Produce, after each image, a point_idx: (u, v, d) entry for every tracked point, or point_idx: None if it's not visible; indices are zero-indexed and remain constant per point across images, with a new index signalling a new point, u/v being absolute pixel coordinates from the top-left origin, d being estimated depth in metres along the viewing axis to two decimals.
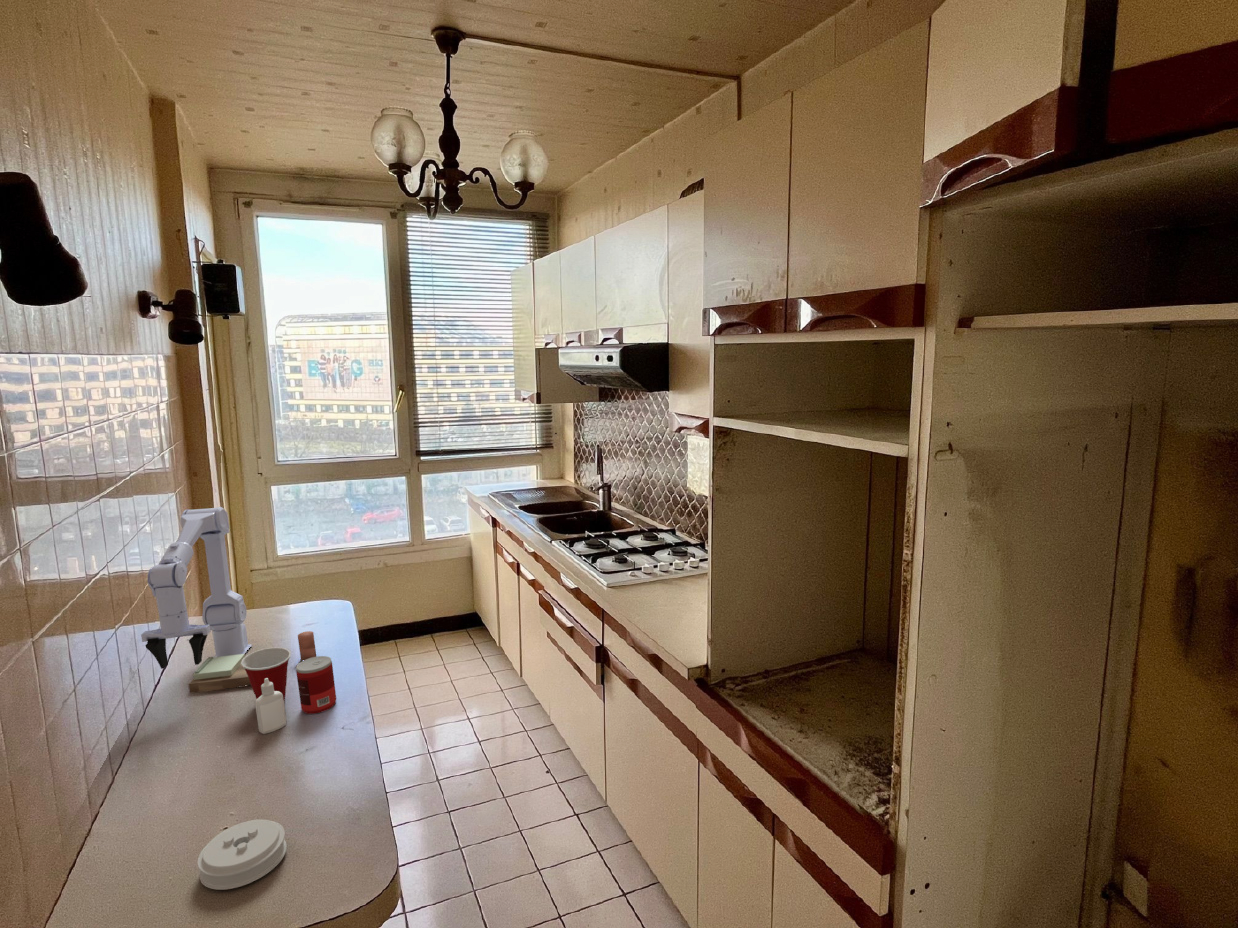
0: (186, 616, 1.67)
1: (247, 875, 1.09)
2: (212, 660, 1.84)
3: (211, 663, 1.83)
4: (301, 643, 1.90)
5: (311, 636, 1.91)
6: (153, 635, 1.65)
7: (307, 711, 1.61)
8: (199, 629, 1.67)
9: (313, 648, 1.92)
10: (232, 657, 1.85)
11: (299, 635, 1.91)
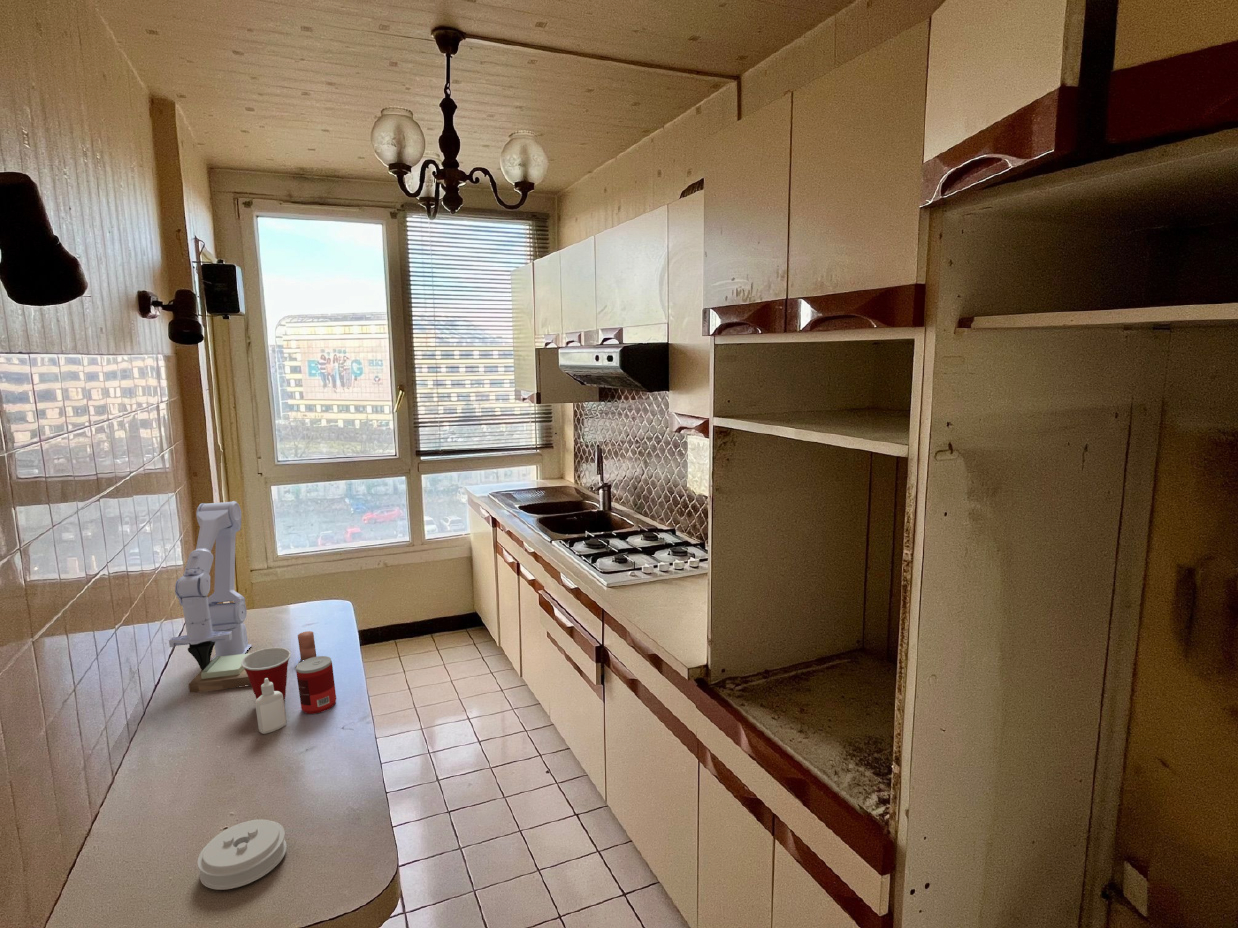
0: (210, 623, 1.80)
1: (247, 875, 1.09)
2: (219, 659, 1.85)
3: (218, 662, 1.83)
4: (301, 643, 1.90)
5: (311, 636, 1.91)
6: (180, 641, 1.78)
7: (307, 711, 1.61)
8: (222, 636, 1.80)
9: (313, 648, 1.92)
10: (239, 656, 1.86)
11: (299, 635, 1.91)
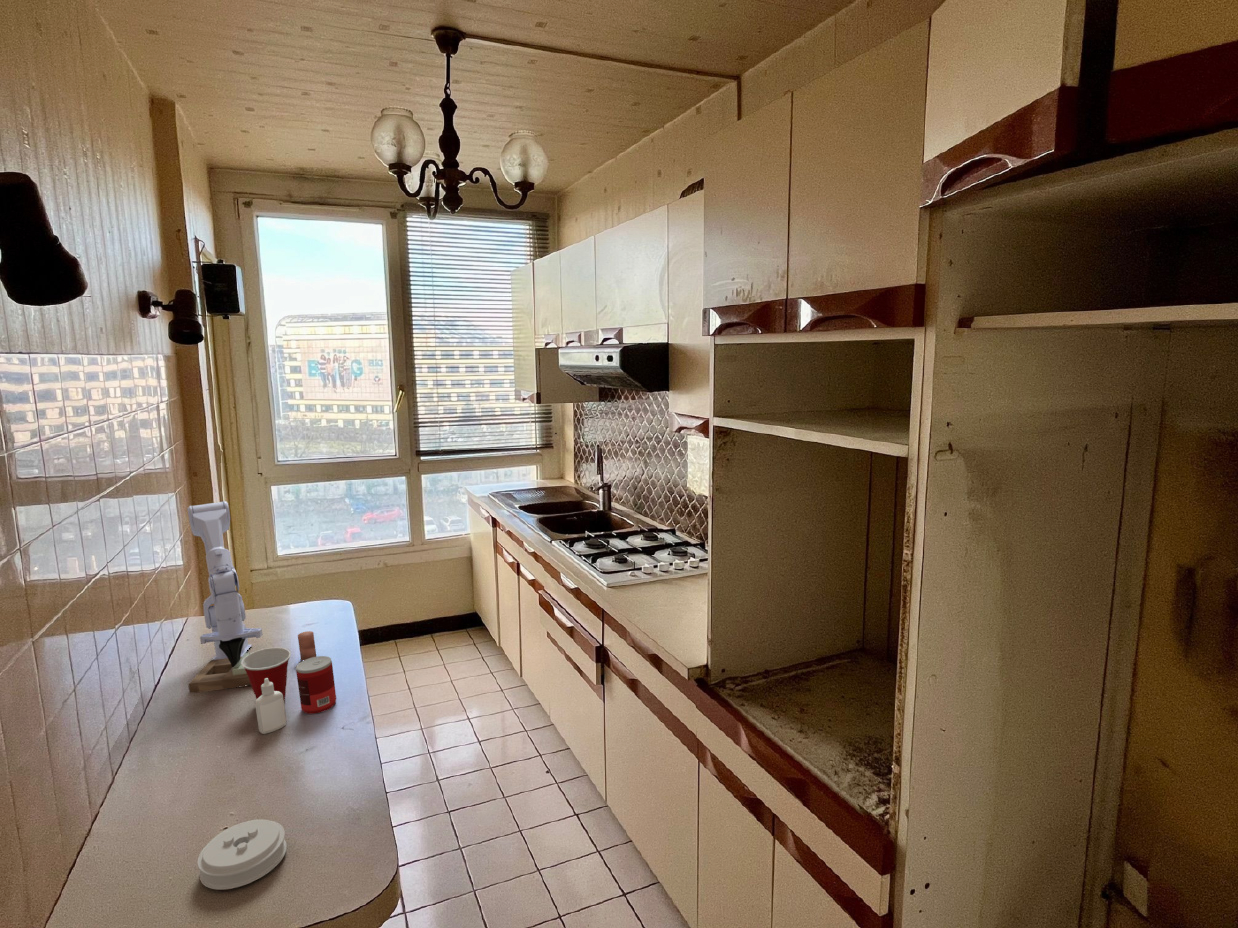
0: (241, 620, 1.81)
1: (247, 875, 1.09)
2: None
3: None
4: (301, 643, 1.90)
5: (311, 636, 1.91)
6: (211, 638, 1.79)
7: (307, 711, 1.61)
8: (252, 632, 1.81)
9: (313, 648, 1.92)
10: None
11: (299, 635, 1.91)
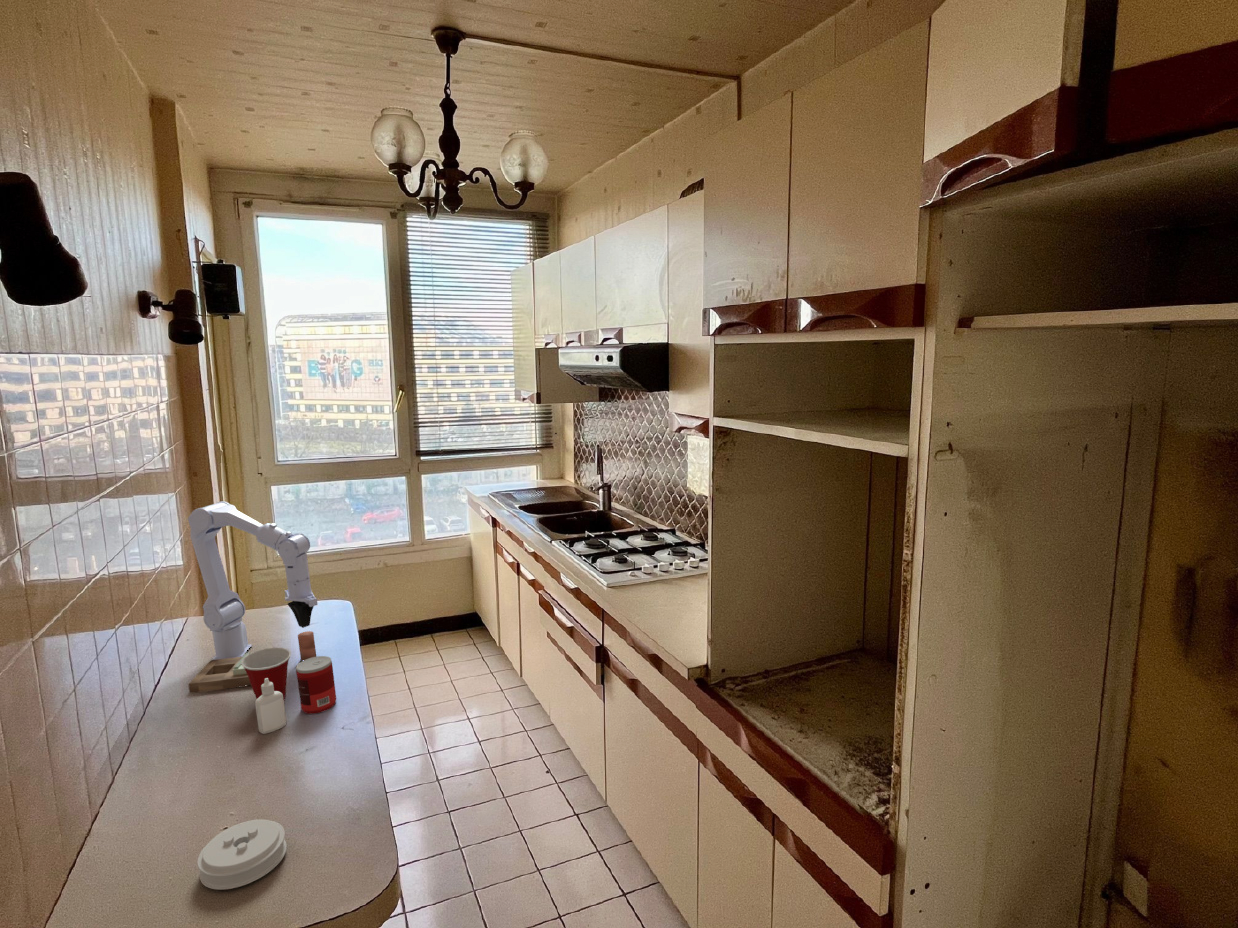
0: (303, 585, 1.88)
1: (247, 875, 1.09)
2: None
3: None
4: (301, 643, 1.90)
5: (311, 636, 1.91)
6: (287, 594, 1.91)
7: (307, 711, 1.61)
8: (306, 600, 1.85)
9: (313, 648, 1.92)
10: None
11: (299, 635, 1.91)
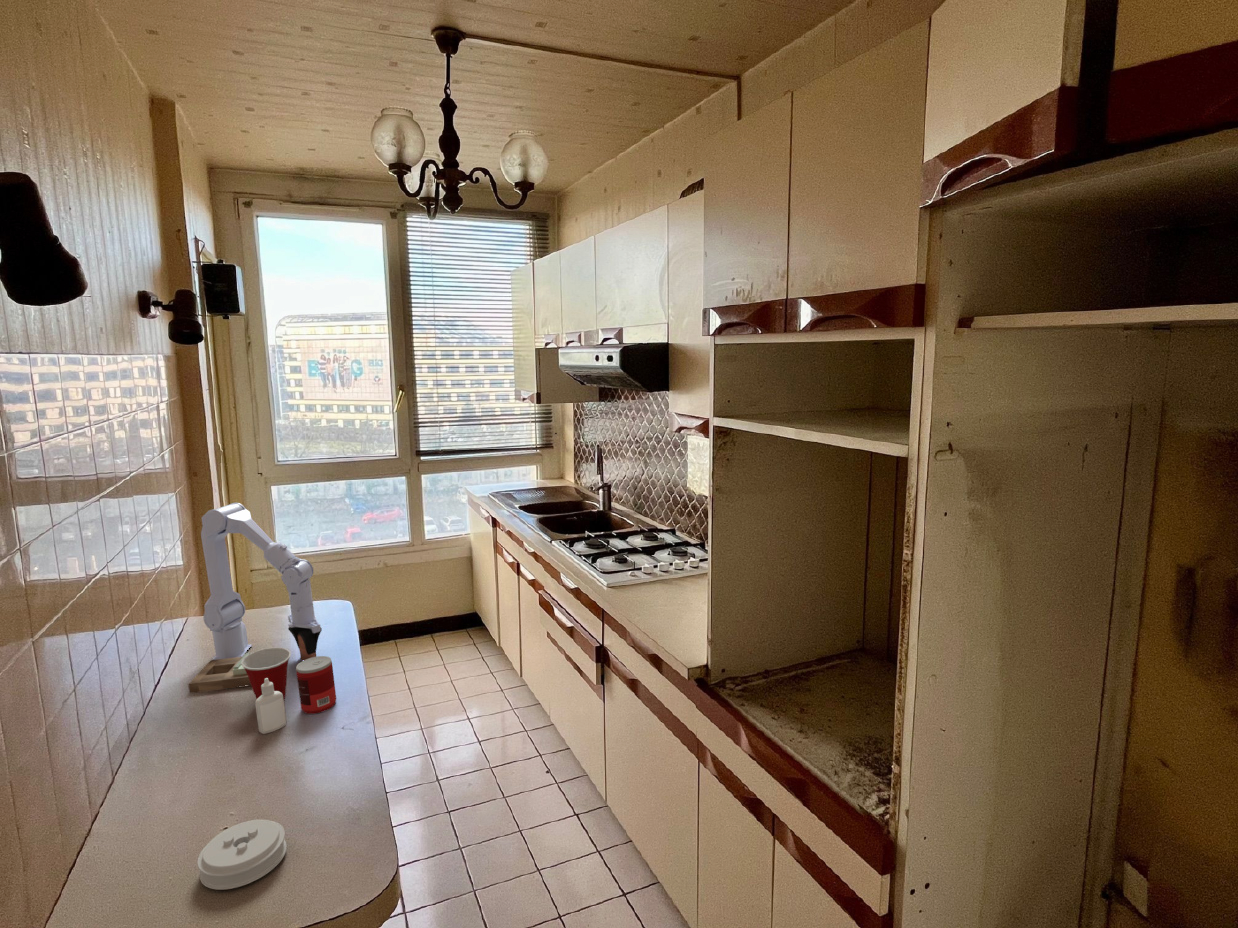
0: (307, 611, 1.89)
1: (247, 875, 1.09)
2: None
3: None
4: (301, 643, 1.90)
5: None
6: (290, 620, 1.92)
7: (307, 711, 1.61)
8: (309, 626, 1.87)
9: None
10: None
11: (299, 635, 1.91)
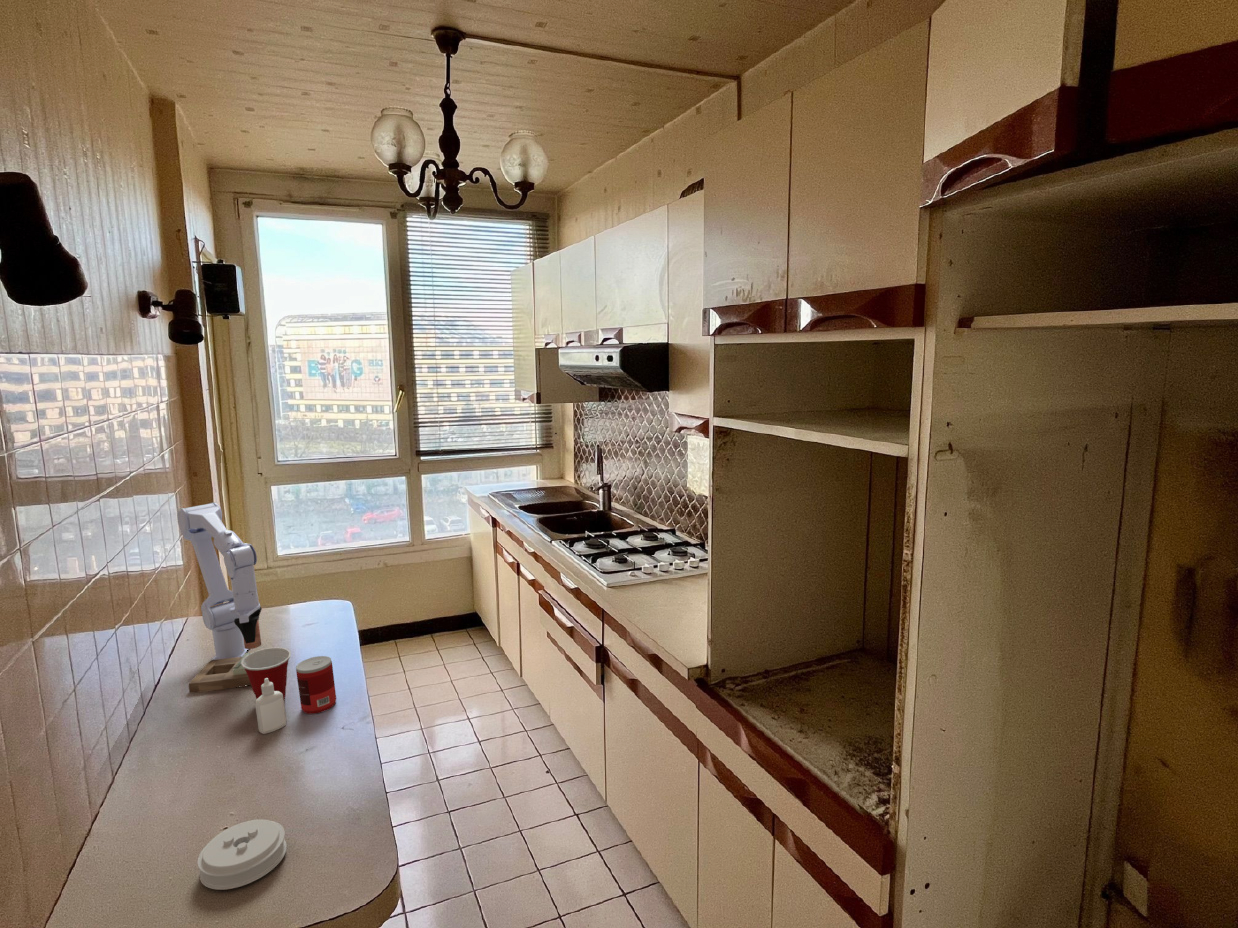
0: (244, 599, 1.81)
1: (247, 875, 1.09)
2: None
3: None
4: None
5: None
6: None
7: (307, 711, 1.61)
8: (239, 615, 1.78)
9: None
10: None
11: None
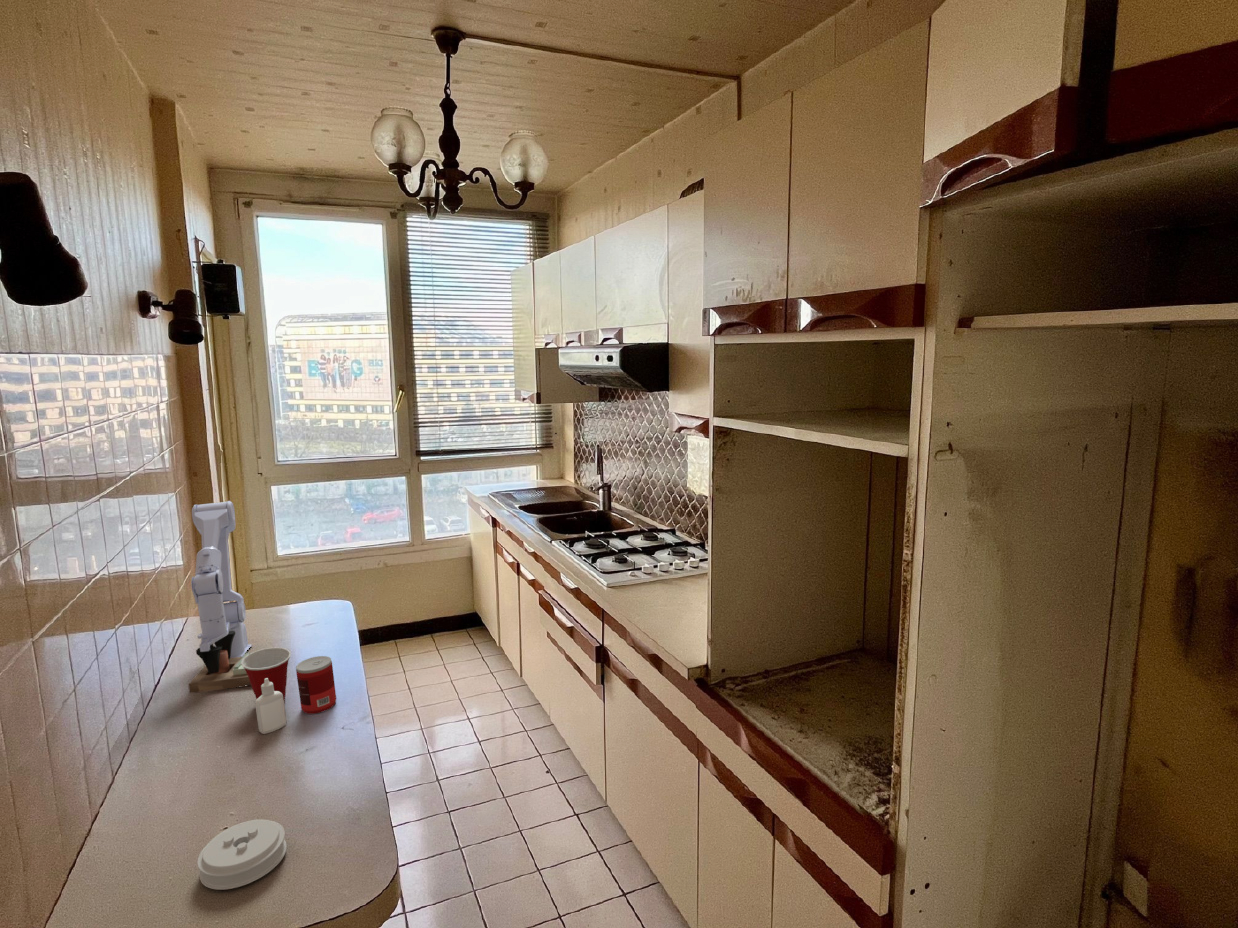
0: (208, 626, 1.78)
1: (247, 875, 1.09)
2: None
3: None
4: None
5: (219, 658, 1.80)
6: None
7: (307, 711, 1.61)
8: None
9: (222, 670, 1.81)
10: None
11: None
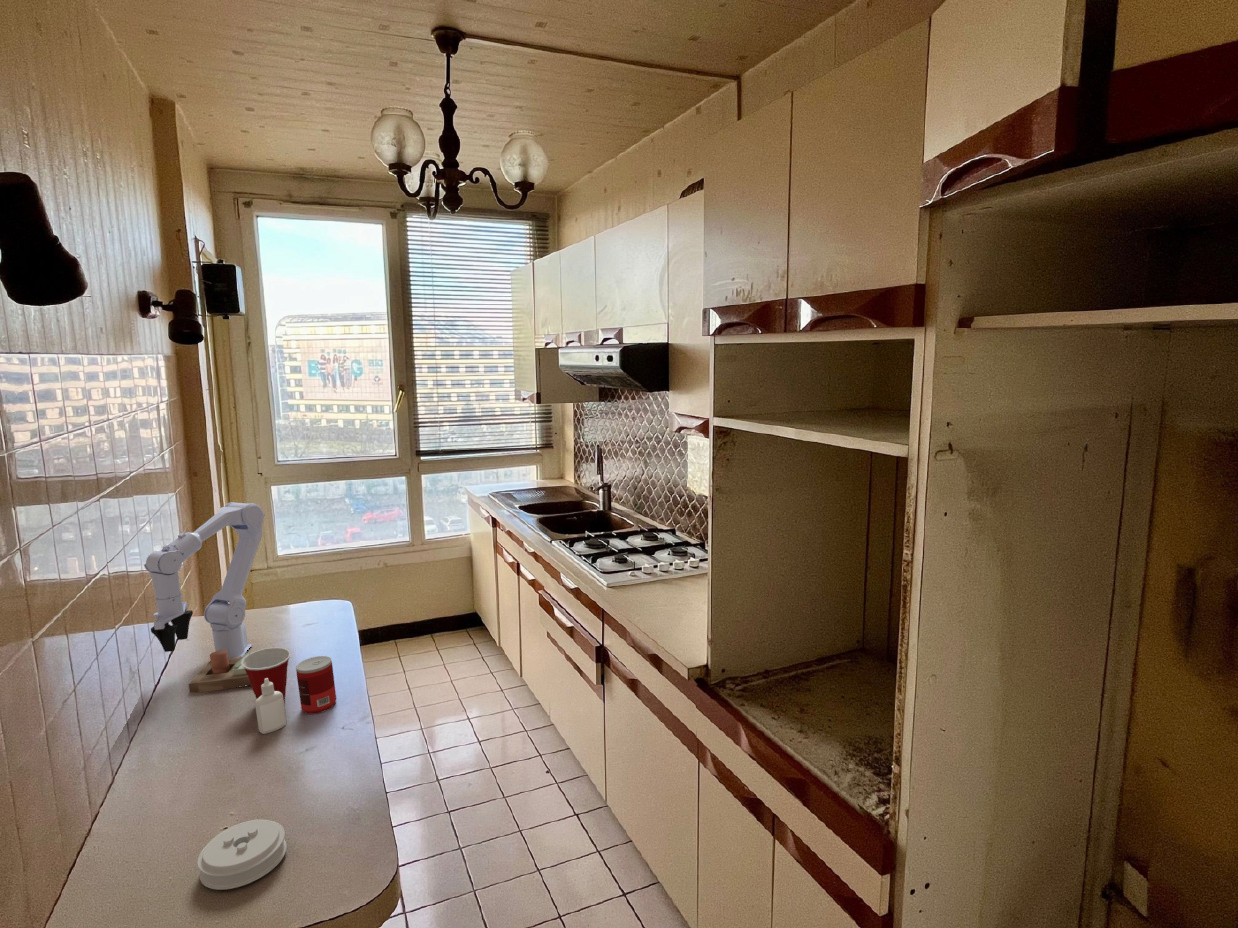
0: (164, 604, 1.78)
1: (247, 875, 1.09)
2: None
3: None
4: None
5: (219, 658, 1.80)
6: None
7: (307, 711, 1.61)
8: None
9: (221, 670, 1.81)
10: None
11: (213, 653, 1.82)
